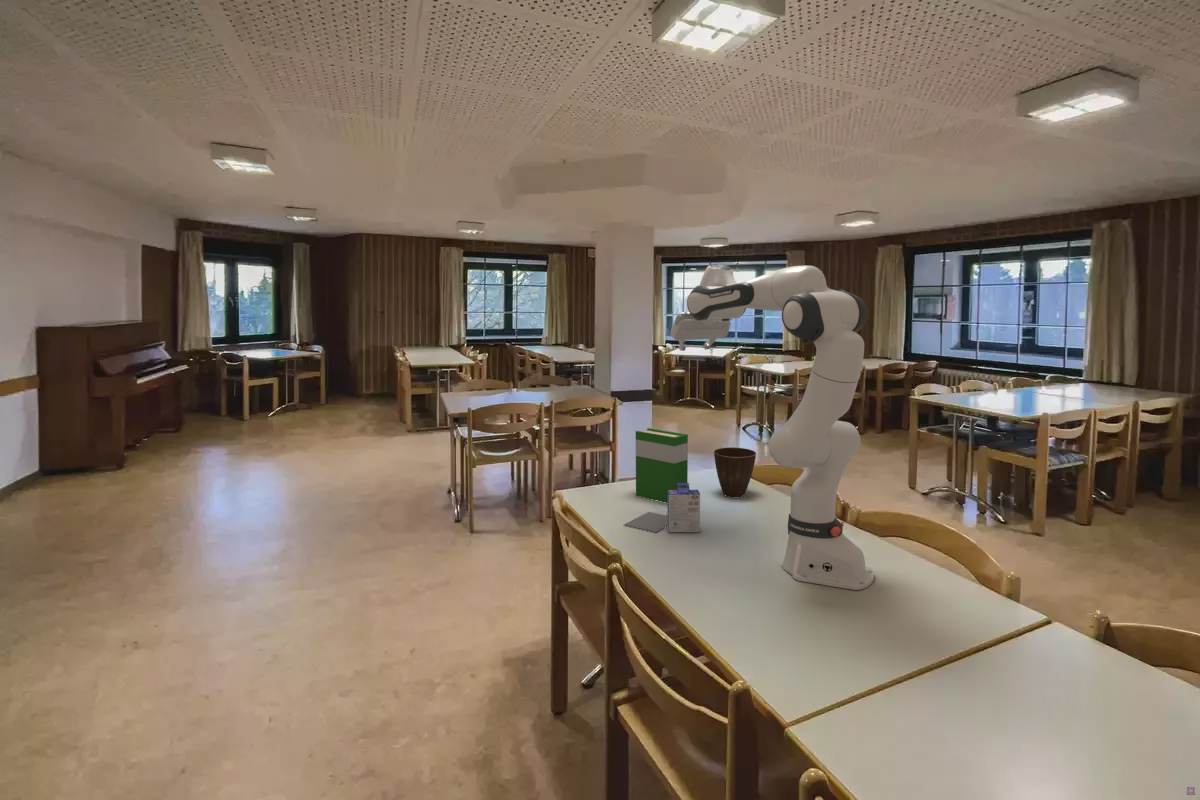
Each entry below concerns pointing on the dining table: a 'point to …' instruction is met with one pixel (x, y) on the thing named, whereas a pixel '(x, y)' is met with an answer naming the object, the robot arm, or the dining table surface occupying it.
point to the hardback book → (660, 463)
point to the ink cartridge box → (683, 509)
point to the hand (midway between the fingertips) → (693, 349)
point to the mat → (649, 522)
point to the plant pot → (734, 469)
